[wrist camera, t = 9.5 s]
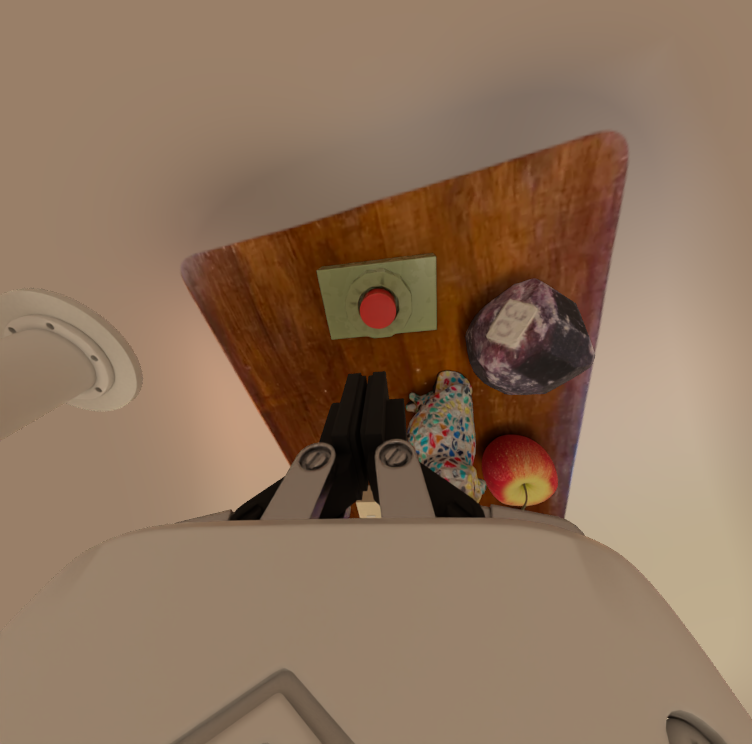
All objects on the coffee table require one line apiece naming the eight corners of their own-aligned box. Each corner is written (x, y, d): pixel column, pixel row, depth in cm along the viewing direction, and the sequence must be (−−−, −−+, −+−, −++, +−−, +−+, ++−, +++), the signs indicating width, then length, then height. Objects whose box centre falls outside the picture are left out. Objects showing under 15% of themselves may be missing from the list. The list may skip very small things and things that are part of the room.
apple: (479, 421, 36) (507, 486, 27) (545, 422, 36) (594, 489, 27) (469, 464, 40) (490, 532, 32) (527, 465, 40) (565, 535, 31)
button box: (335, 331, 31) (327, 347, 27) (321, 266, 27) (311, 274, 24) (433, 322, 30) (439, 336, 26) (432, 252, 26) (439, 259, 23)
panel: (365, 516, 48) (363, 534, 45) (356, 479, 43) (354, 497, 41) (433, 514, 47) (436, 532, 44) (433, 476, 42) (436, 495, 39)
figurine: (484, 414, 35) (537, 530, 23) (420, 436, 38) (435, 552, 25) (461, 363, 32) (509, 466, 19) (392, 391, 34) (394, 500, 21)
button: (364, 323, 26) (362, 330, 25) (359, 290, 25) (356, 295, 23) (397, 320, 26) (397, 327, 24) (394, 286, 24) (394, 291, 23)
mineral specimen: (570, 249, 24) (648, 330, 18) (539, 332, 32) (585, 406, 26) (456, 275, 25) (493, 359, 19) (455, 348, 33) (480, 423, 27)
